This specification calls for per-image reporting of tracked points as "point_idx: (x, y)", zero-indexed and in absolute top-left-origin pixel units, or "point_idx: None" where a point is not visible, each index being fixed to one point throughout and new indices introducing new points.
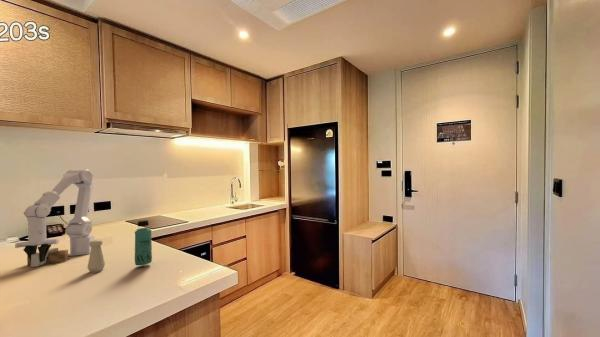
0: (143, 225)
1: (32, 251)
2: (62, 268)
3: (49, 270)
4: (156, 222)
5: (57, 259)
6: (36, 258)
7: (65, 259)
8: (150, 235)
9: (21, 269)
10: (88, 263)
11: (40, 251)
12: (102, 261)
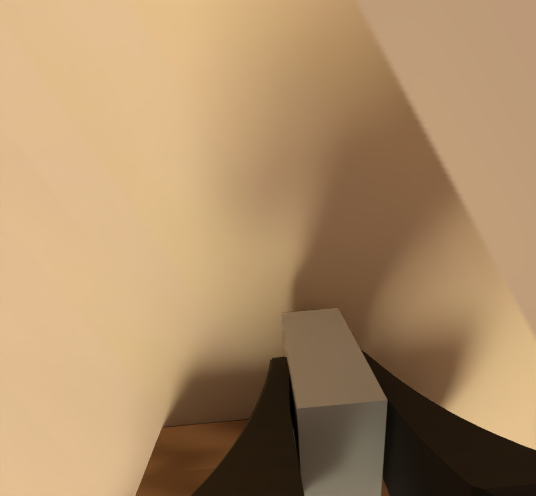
0: None
1: (417, 480)
2: (33, 233)
3: (125, 209)
4: None
5: (213, 446)
6: (310, 364)
7: (156, 446)
8: None
9: (416, 323)
10: None
11: (271, 448)
12: None
